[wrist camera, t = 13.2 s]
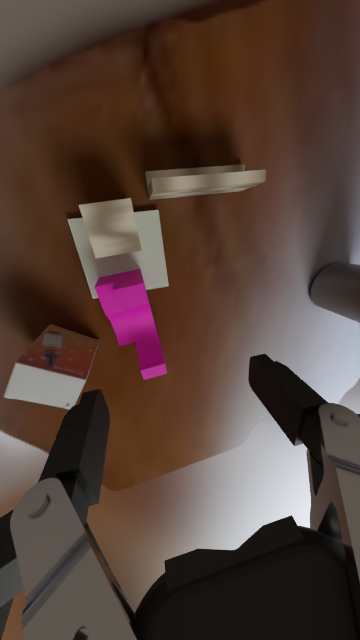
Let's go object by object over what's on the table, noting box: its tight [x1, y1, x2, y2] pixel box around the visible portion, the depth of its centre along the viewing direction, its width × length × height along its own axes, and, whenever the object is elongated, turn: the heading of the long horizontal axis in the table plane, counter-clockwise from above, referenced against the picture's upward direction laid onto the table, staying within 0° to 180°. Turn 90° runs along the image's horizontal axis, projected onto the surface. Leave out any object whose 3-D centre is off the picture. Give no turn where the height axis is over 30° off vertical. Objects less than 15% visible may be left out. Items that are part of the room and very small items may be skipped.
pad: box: [67, 210, 169, 299], centre depth 29 cm, size 12×11×1 cm
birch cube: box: [79, 198, 142, 258], centre depth 24 cm, size 6×6×6 cm
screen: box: [145, 164, 266, 200], centre depth 25 cm, size 14×3×6 cm, turn 96°
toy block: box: [94, 269, 167, 380], centre depth 30 cm, size 15×6×8 cm, turn 10°
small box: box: [4, 324, 99, 410], centre depth 28 cm, size 8×6×10 cm
